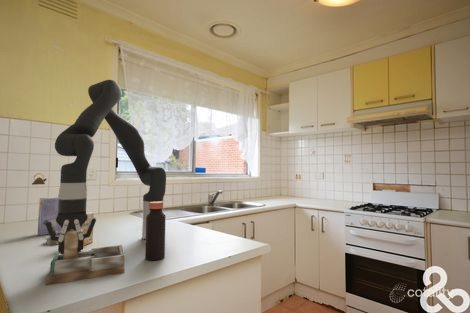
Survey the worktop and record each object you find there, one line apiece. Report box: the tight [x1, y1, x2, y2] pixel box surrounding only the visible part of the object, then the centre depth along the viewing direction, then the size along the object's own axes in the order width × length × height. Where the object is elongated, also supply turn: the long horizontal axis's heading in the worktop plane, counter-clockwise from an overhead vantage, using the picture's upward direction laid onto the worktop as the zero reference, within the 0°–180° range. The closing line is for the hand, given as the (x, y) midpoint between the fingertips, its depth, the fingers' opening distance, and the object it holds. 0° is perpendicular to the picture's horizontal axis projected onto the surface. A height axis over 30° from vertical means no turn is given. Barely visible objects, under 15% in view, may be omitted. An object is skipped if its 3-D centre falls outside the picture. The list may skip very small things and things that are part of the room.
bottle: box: [144, 201, 167, 262], centre depth 95 cm, size 7×7×20 cm
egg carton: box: [46, 230, 61, 245], centre depth 116 cm, size 11×8×4 cm
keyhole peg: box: [63, 230, 79, 260], centre depth 82 cm, size 6×6×11 cm
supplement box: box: [82, 211, 95, 246], centre depth 111 cm, size 8×5×13 cm, turn 168°
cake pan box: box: [37, 197, 62, 236], centre depth 134 cm, size 19×5×18 cm, turn 144°
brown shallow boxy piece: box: [45, 244, 125, 286], centre depth 84 cm, size 20×16×5 cm
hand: (70, 252), depth 82 cm, fingers closed on keyhole peg, 4 cm apart
